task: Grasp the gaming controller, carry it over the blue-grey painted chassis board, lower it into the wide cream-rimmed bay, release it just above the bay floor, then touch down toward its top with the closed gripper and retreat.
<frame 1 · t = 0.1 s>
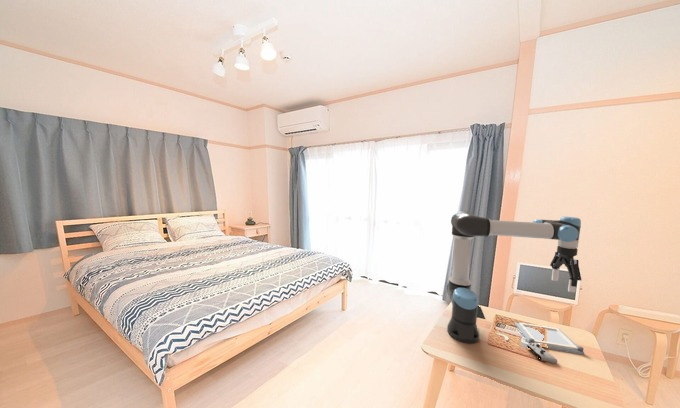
hand: (562, 286, 123), 28 cm above the table, fingers open, 13 cm apart
smartphone: (476, 312, 148), on the table
gaming controller: (539, 355, 111), on the table
chassis: (545, 338, 123), on the table
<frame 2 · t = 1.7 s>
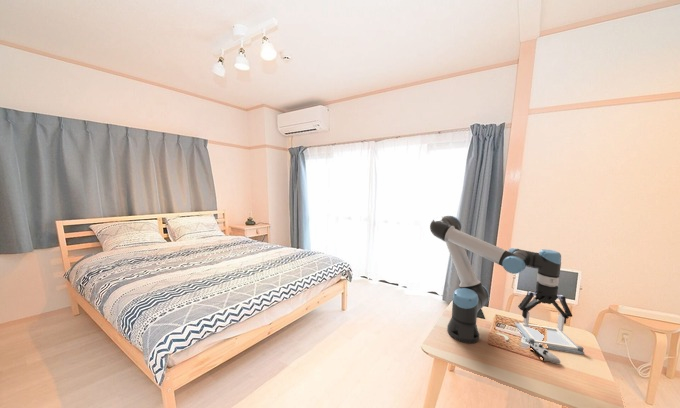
hand: (542, 326, 110), 14 cm above the table, fingers open, 13 cm apart
gaming controller: (542, 356, 111), on the table
everything else where it was.
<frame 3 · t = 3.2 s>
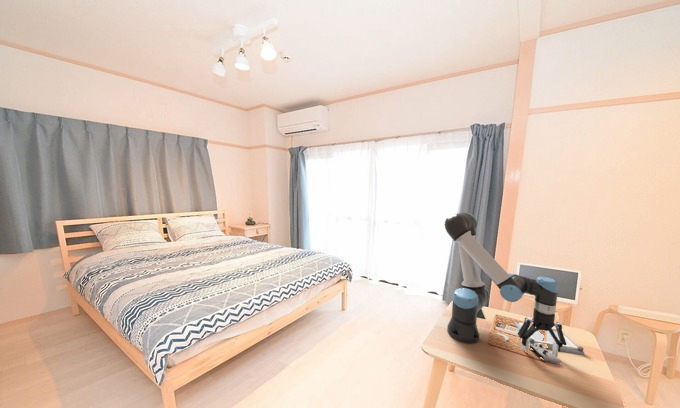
hand: (539, 354, 111), 0 cm above the table, fingers open, 11 cm apart
nothing on the table moved.
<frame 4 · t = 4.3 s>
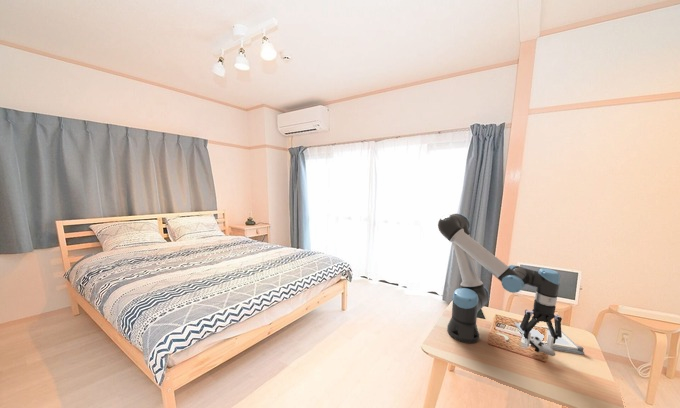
hand: (537, 346, 112), 4 cm above the table, fingers closed on gaming controller, 8 cm apart
gaming controller: (538, 348, 111), point 3 cm above the table, touching gripper
everything else where it was.
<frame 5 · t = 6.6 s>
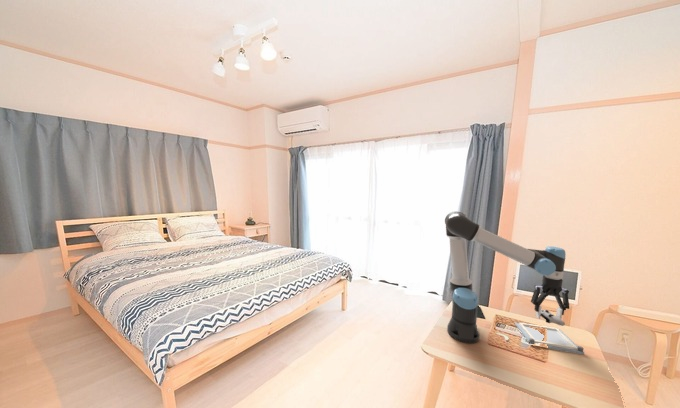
hand: (548, 318, 122), 11 cm above the table, fingers closed on gaming controller, 8 cm apart
gaming controller: (548, 320, 122), point 10 cm above the table, touching gripper
everything else where it was.
when the fingers open (2 cm above the table, at t = 8.9 s): gaming controller stays where it is, resting on chassis.
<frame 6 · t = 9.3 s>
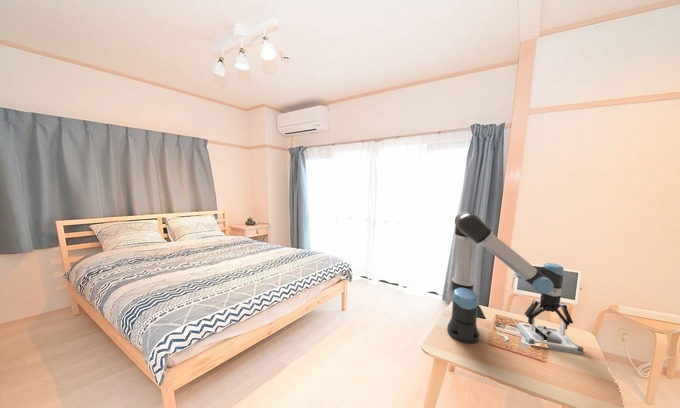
hand: (546, 332, 123), 3 cm above the table, fingers open, 13 cm apart
gaming controller: (546, 336, 123), point 1 cm above the table, touching chassis
everything else where it was.
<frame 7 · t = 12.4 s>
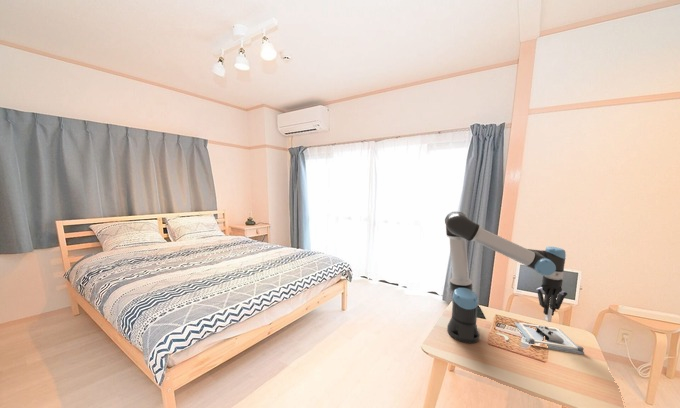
hand: (547, 320, 122), 10 cm above the table, fingers closed
nothing on the table moved.
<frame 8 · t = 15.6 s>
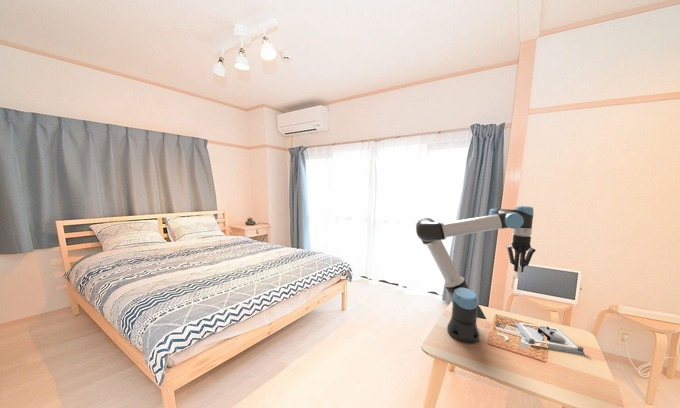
hand: (517, 277, 127), 30 cm above the table, fingers closed
at the end: gaming controller inside the target area on the chassis (1.4 cm from its centre), point 1.1 cm above the chassis's base; gaming controller touching chassis; the gripper is holding nothing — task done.
